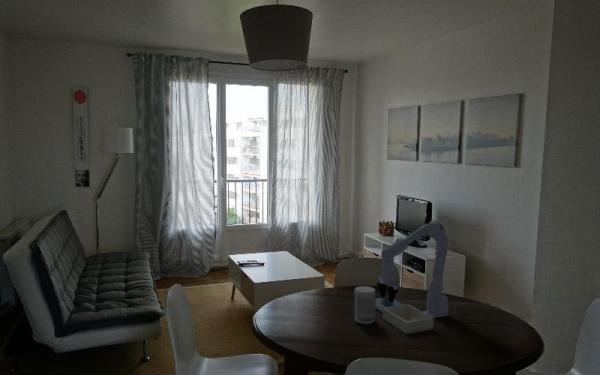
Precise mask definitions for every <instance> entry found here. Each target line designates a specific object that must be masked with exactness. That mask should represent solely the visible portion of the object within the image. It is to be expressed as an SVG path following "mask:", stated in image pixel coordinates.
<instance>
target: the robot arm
mask: <svg viewBox="0 0 600 375" xmlns="http://www.w3.org/2000/svg"><path fill="white" fill-rule="evenodd" d="M427 236H428V237H430V238H431V239H433V240H434V242H436V244H437V246H436V247H437V248H436V252H435V258H434V265H433V270H432V271H433V272H432V275H431V281H430V283H429V286H428V287H427V292H426V293H427V296H426V310H422V312H423V313H425V314H427V315H428V316H430V317H432V318H433V319H436V318H441V317H448V316H450V313H449V304H450V303H449V298H448V297H447V295H445V294H443V292H442V291H443V289H444V284H443V278H444V277H443V276H444V271H445V266H446V259H447V254H448V248H449V244H450V243H449V242H450V241H449V240H450V238H449V237H448V235H447V232H446V231H445V227H444V226H443V225H442V224H441V222H439V221H437V220H431V221H430V222H428V223H425V224H424V225H422V226H420V227H419V228H417V229H416V230H414V231H413V232H412V233H410V235H409V234H408V236H406V237H405V238H399V239H398V238H397V239H395V242H393V243H392V244H388V245H387V247H386V248H385V249H383V251H382V252H381V254H380V255H381V256H380V257H381V258H382V262H381V276H378V277H377V283H376V285H377V287H378V290H379V295H380V298H382V297H386V293H387V296H389V302H394V300H395V297H396V296H397V293H398V292H399V285H398V284H397V283H396V282H395V281H394V277H395V275H394V274H395V256H398V255H400V254H401V253H403V252H405V251H406V250H408V248H409V244H411V243H412V242H414V241H416V240H417V239H419V238H421V237H427Z"/></svg>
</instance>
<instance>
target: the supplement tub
mask: <svg viewBox="0 0 600 375" xmlns="http://www.w3.org/2000/svg"><path fill="white" fill-rule="evenodd" d="M353 295H354V296H353V298H354V299H353V300H354V301H353V306H354V307H353V311H354V312H353V313H354V314H353V318H354V322H356V323H358V324H362V325H372V324H373V323H374V322H375V321H376V308H375V307H376V295H377V294H376V289H375V288H374V287H372V286H364V285H363V286H357V287H355V288H354V294H353Z"/></svg>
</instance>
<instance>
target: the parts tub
mask: <svg viewBox="0 0 600 375" xmlns="http://www.w3.org/2000/svg"><path fill="white" fill-rule="evenodd" d="M382 320H384V321H385V322H387V323H388V324H390V325H392V327H394V328H396V329H397V330H399V331H400V332H402V333H404V334H405V335H408V334H409V335H410V334H414V333H415V334H416V333H420V332H426V331H432V330H433V329H434V318H432V317H430V316H428V315H427V314H425V313H423V311H421V310H419V309H417V308H416V307H414V306H412V305H410V304H403V305H402V306H395V307H388V308H383V313H382Z"/></svg>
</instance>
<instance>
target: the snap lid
mask: <svg viewBox="0 0 600 375" xmlns="http://www.w3.org/2000/svg"><path fill="white" fill-rule="evenodd" d="M402 305H404V303H403V304H402V303H401V302H399V301H397V300H396V299H394V302H389V295H387V296H386V295H385V297H379V298H378V297H377V298H376V307H375V310H378V311H379V312H380V313H382V314H383V308H388V307H395V306H402Z"/></svg>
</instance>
